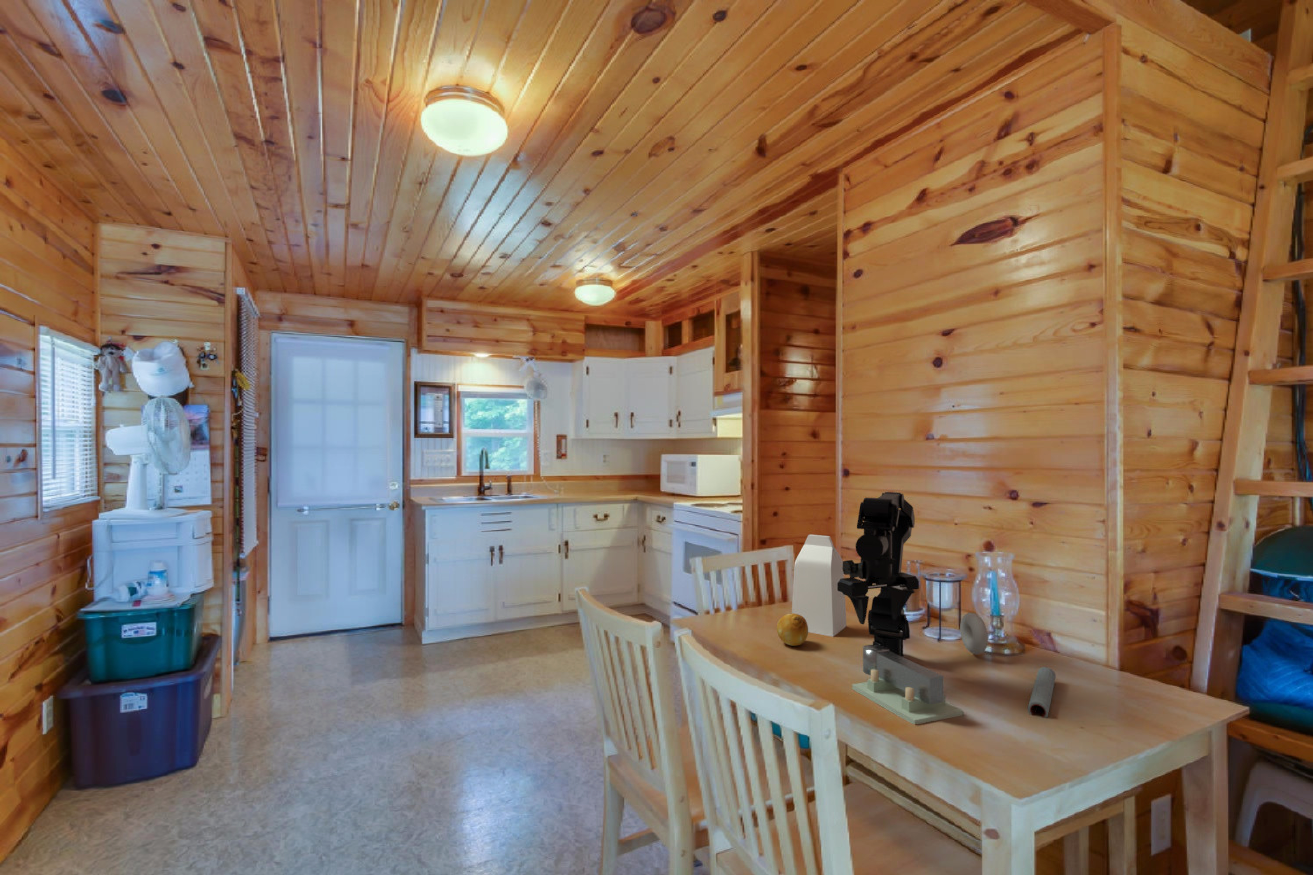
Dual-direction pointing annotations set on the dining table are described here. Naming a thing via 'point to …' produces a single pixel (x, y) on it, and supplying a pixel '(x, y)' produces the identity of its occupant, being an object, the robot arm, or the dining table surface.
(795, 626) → the fruit
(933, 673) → the long grey rectangular beam
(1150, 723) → the dining table surface
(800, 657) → the dining table surface
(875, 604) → the robot arm
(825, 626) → the milk
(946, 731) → the dining table surface
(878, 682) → the rack
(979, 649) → the donut
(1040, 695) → the aluminum foil
